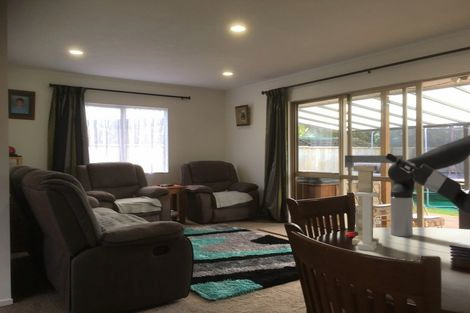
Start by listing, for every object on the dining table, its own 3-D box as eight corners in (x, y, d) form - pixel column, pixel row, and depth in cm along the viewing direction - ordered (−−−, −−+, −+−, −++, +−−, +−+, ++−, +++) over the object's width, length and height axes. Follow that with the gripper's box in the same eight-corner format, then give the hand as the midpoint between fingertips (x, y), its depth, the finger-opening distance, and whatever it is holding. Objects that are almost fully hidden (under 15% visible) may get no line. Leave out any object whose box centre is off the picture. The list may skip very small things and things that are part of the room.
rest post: (358, 245, 149) (358, 192, 149) (379, 248, 145) (379, 193, 145) (354, 248, 144) (354, 193, 144) (376, 251, 140) (376, 194, 140)
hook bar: (346, 167, 158) (346, 155, 158) (403, 168, 147) (403, 155, 147) (344, 167, 155) (344, 155, 155) (402, 168, 144) (402, 155, 144)
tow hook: (344, 234, 173) (347, 237, 164) (344, 206, 174) (347, 208, 165) (363, 234, 172) (366, 238, 163) (362, 206, 172) (366, 208, 163)
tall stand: (356, 240, 158) (356, 165, 158) (378, 242, 154) (378, 165, 154) (352, 244, 151) (352, 165, 151) (375, 247, 147) (375, 166, 147)
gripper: (435, 169, 146) (394, 147, 153) (434, 170, 134) (390, 146, 141) (425, 185, 148) (385, 163, 155) (423, 188, 136) (379, 163, 143)
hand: (387, 155), depth 148 cm, fingers closed on hook bar, 3 cm apart
